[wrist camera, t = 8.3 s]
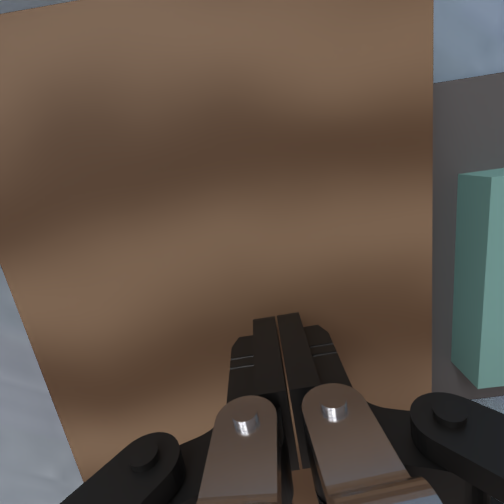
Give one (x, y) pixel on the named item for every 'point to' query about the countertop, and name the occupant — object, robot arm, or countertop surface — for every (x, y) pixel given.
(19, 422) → the countertop surface
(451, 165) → the mat
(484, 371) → the teal rectangular block
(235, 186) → the brown flat block
